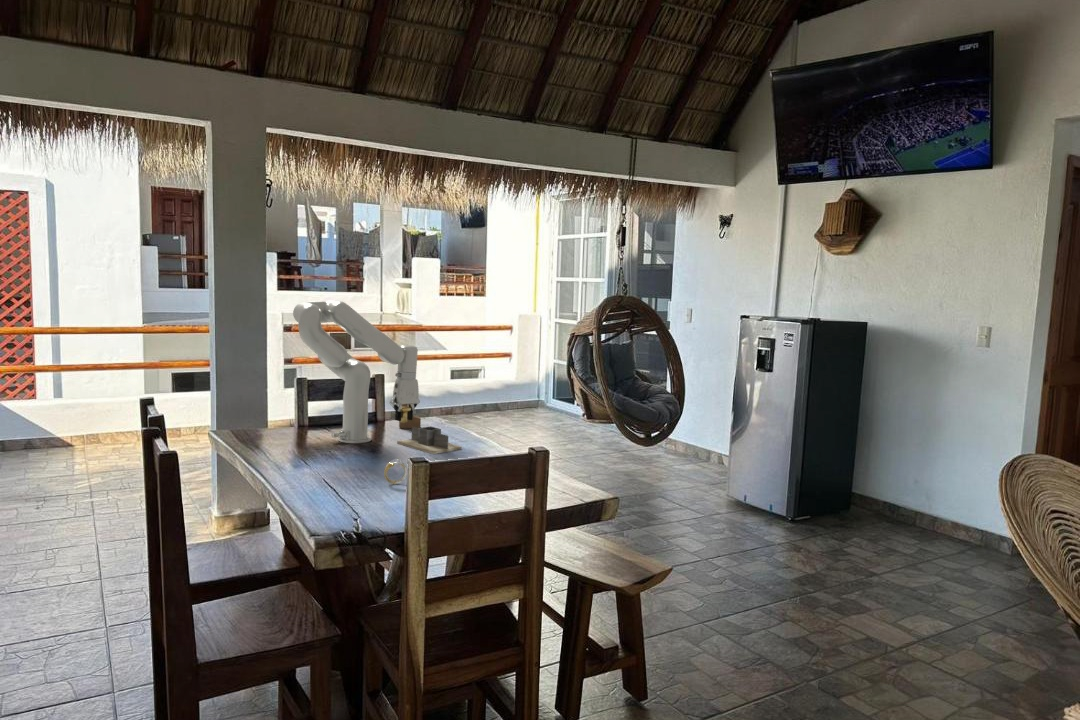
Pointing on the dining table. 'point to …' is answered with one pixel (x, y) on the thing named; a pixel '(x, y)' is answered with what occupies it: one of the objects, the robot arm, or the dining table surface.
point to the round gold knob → (404, 413)
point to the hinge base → (429, 441)
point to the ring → (391, 466)
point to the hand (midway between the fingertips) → (403, 419)
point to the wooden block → (410, 422)
